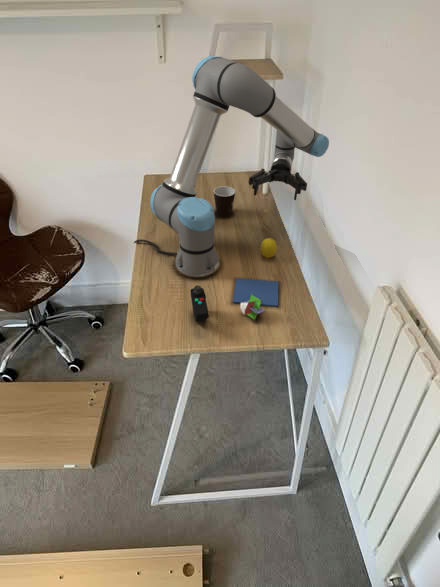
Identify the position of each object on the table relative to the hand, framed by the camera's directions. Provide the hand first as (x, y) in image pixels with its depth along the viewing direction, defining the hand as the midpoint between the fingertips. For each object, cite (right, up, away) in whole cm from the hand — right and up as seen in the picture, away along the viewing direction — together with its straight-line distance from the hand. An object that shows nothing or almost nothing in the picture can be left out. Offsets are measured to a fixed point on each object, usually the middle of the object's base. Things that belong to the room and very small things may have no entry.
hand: (275, 194), depth 146 cm
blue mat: (-7, -33, -6) cm, 34 cm away
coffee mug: (-16, 0, +33) cm, 37 cm away
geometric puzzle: (-9, -40, -14) cm, 43 cm away
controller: (-25, -42, -16) cm, 51 cm away
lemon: (-2, -21, +9) cm, 23 cm away
